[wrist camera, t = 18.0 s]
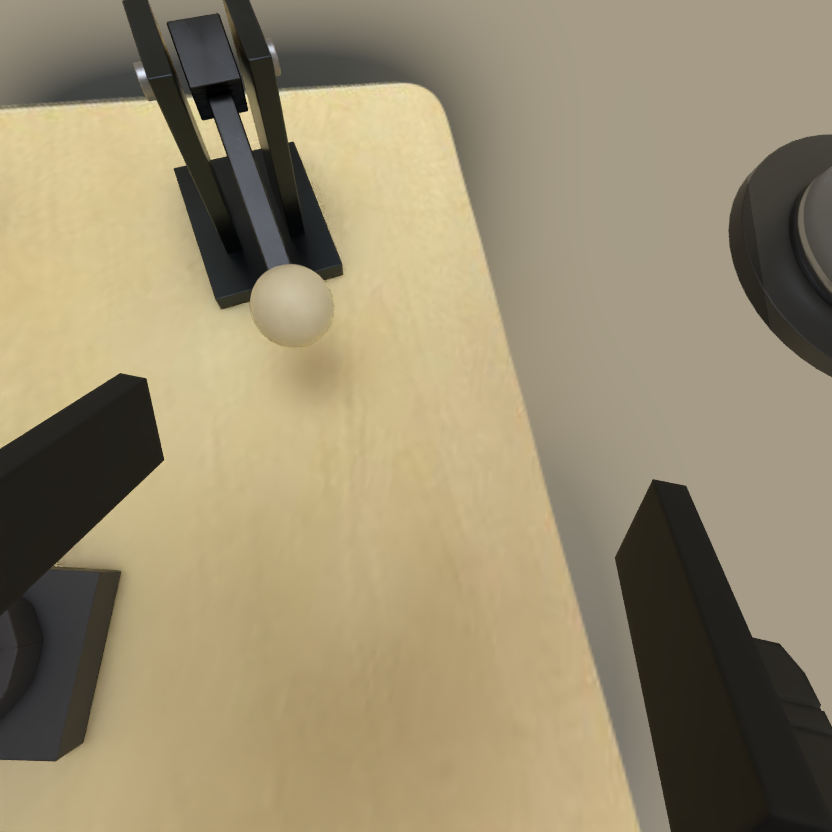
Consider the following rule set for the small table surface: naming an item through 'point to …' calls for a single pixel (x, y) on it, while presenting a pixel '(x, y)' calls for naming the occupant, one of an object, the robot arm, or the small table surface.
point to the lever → (251, 188)
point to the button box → (52, 661)
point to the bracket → (214, 180)
